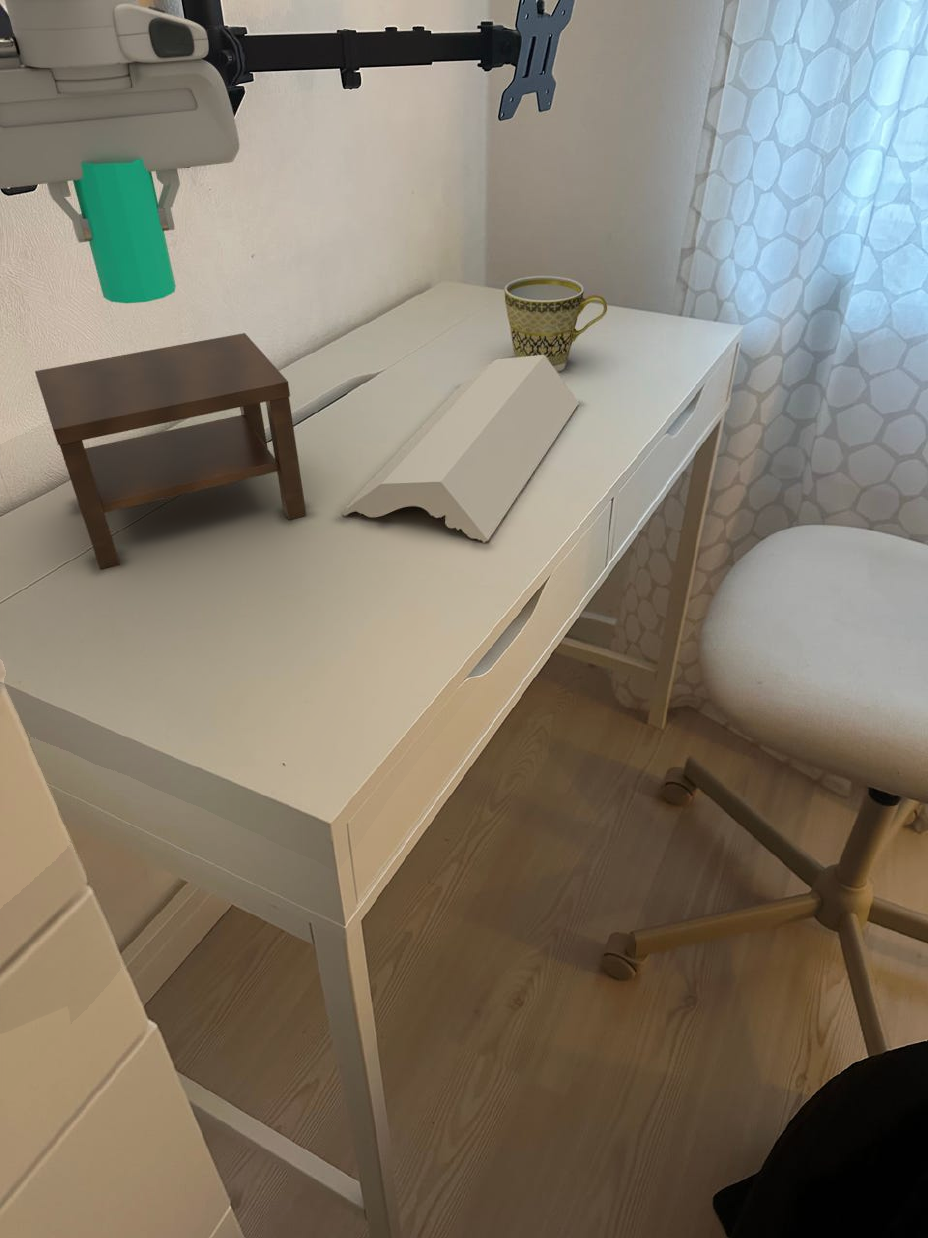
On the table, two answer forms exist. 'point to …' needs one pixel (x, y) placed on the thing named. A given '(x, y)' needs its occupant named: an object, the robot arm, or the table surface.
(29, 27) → the robot arm
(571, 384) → the table surface
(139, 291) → the candle
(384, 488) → the molding piece
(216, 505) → the table surface
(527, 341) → the ceramic cup
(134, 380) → the stand
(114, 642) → the table surface
